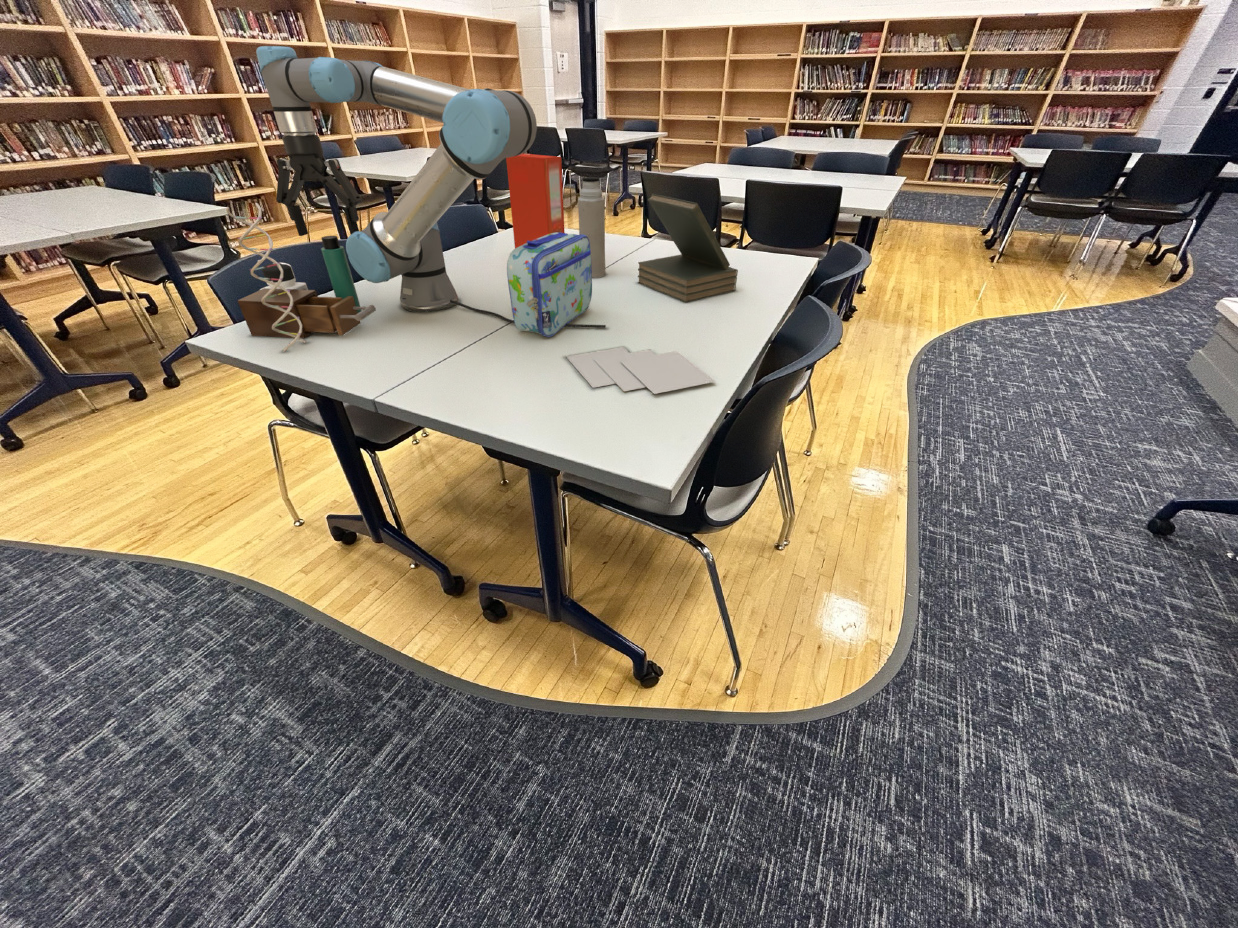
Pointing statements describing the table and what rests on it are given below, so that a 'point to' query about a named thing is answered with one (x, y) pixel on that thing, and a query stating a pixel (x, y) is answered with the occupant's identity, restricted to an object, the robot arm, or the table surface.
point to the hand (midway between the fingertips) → (329, 235)
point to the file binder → (535, 196)
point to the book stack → (687, 255)
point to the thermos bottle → (593, 222)
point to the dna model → (269, 278)
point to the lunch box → (550, 282)
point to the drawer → (331, 314)
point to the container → (287, 280)
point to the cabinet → (273, 312)
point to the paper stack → (639, 370)
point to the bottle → (338, 269)
